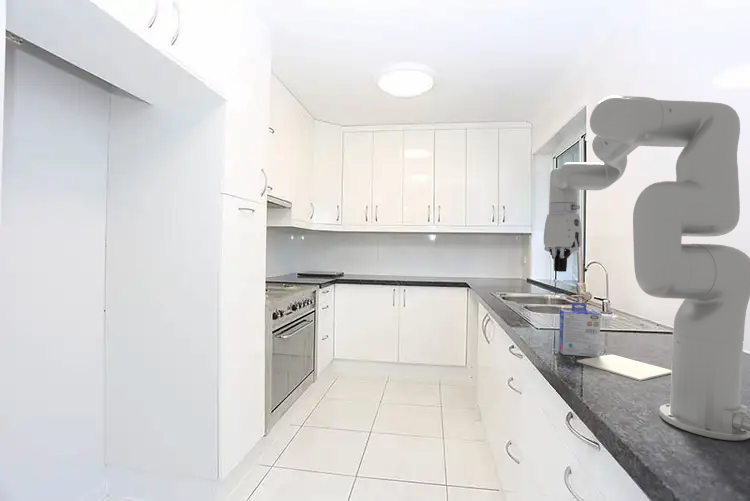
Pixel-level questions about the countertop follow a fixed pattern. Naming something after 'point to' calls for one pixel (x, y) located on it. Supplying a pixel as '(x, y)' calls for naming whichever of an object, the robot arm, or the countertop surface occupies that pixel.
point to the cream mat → (626, 367)
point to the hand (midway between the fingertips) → (560, 271)
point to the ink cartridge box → (579, 331)
